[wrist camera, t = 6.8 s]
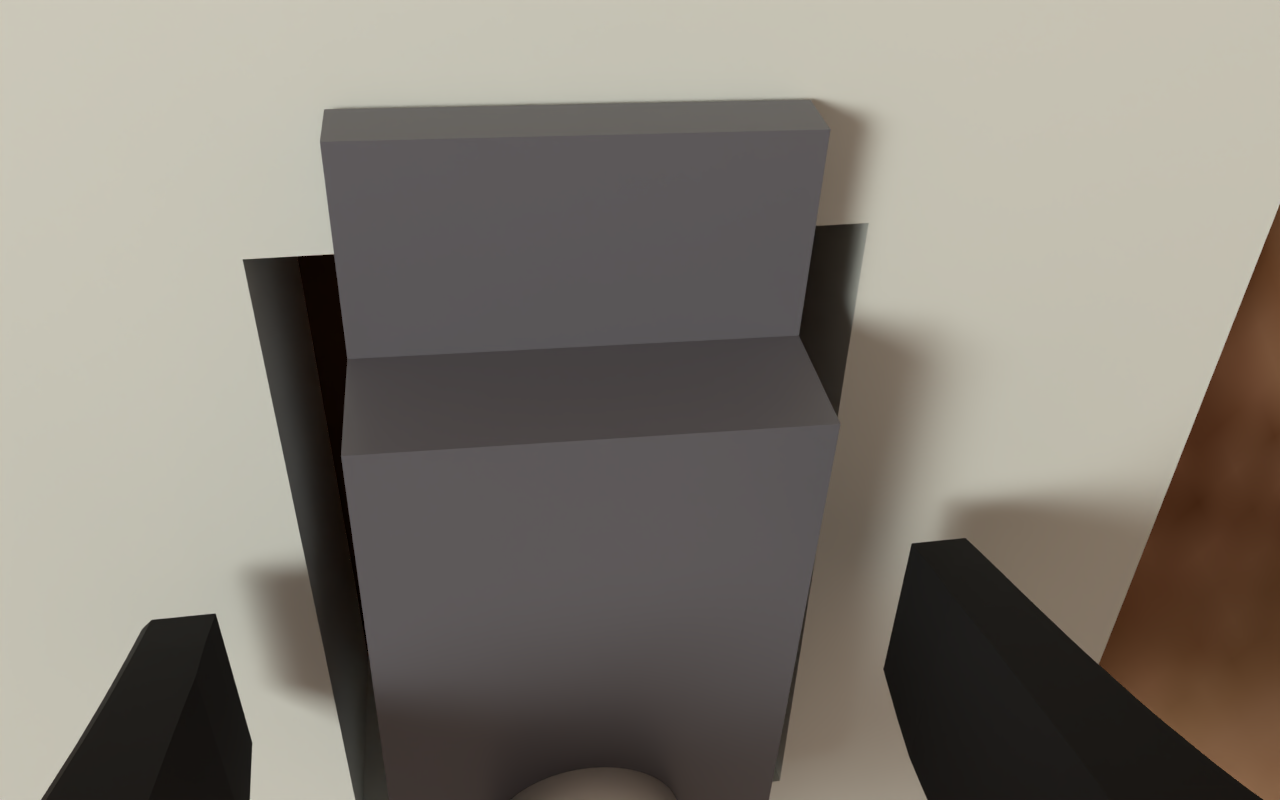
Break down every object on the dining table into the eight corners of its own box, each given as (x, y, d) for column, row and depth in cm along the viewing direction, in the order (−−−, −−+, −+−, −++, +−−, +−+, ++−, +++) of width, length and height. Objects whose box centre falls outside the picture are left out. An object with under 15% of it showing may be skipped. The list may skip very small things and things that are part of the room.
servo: (667, 669, 19) (749, 1038, 14) (415, 693, 18) (420, 1086, 14) (730, -20, 12) (919, 261, 8) (340, -18, 12) (300, 288, 7)
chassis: (907, 857, 24) (963, 1006, 21) (185, 957, 22) (158, 1134, 19) (1235, -281, 12) (1448, -226, 9) (-332, -288, 10) (-570, -221, 7)
